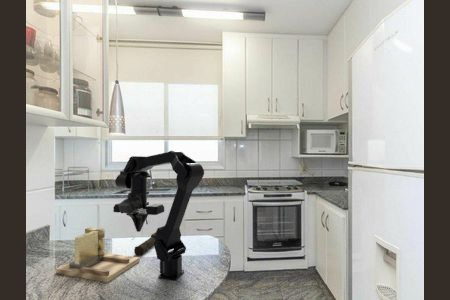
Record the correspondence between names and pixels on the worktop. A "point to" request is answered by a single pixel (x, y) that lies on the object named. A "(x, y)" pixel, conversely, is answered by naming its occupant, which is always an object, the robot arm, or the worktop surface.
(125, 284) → the worktop surface
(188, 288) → the worktop surface
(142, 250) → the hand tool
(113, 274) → the board
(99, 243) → the tan upright block
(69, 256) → the worktop surface
